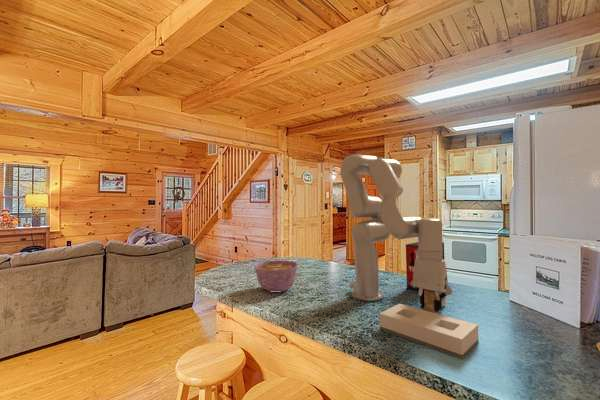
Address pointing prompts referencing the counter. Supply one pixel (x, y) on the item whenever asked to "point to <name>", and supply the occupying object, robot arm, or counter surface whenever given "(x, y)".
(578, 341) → the counter surface
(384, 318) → the hole block
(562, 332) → the counter surface
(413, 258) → the cleaning product box
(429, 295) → the oak pin
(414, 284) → the robot arm
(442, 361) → the counter surface
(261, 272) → the bowl of food
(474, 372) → the counter surface
